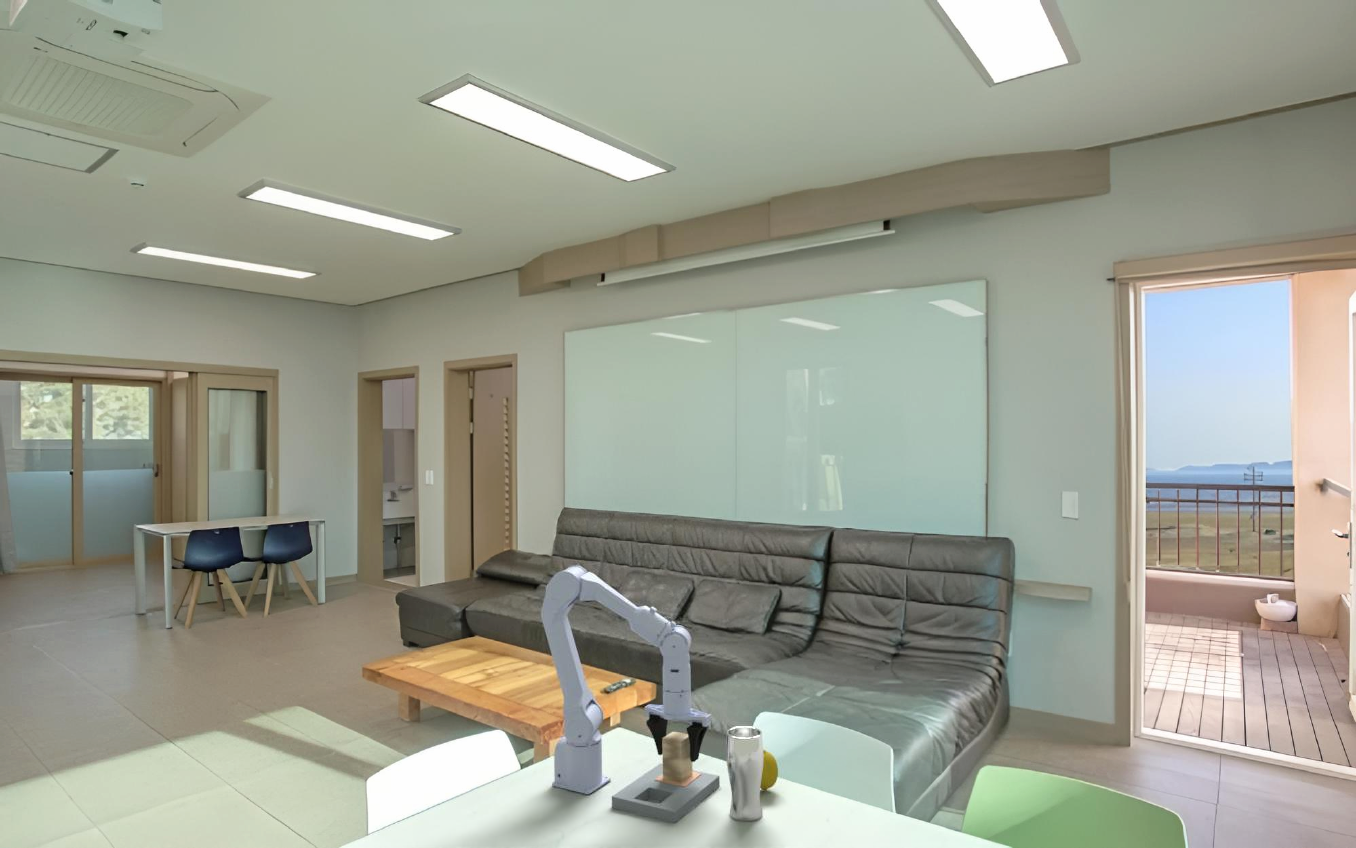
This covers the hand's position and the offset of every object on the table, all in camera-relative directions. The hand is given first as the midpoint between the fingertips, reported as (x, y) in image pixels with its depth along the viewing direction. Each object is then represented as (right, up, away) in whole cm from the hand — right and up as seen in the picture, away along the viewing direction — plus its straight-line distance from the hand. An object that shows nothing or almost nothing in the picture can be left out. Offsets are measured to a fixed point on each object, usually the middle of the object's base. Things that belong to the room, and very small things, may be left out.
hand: (678, 756), depth 153 cm
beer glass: (+13, -5, -13) cm, 19 cm away
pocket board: (-2, -6, -4) cm, 8 cm away
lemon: (+17, -6, -3) cm, 18 cm away
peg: (0, -4, 0) cm, 4 cm away
